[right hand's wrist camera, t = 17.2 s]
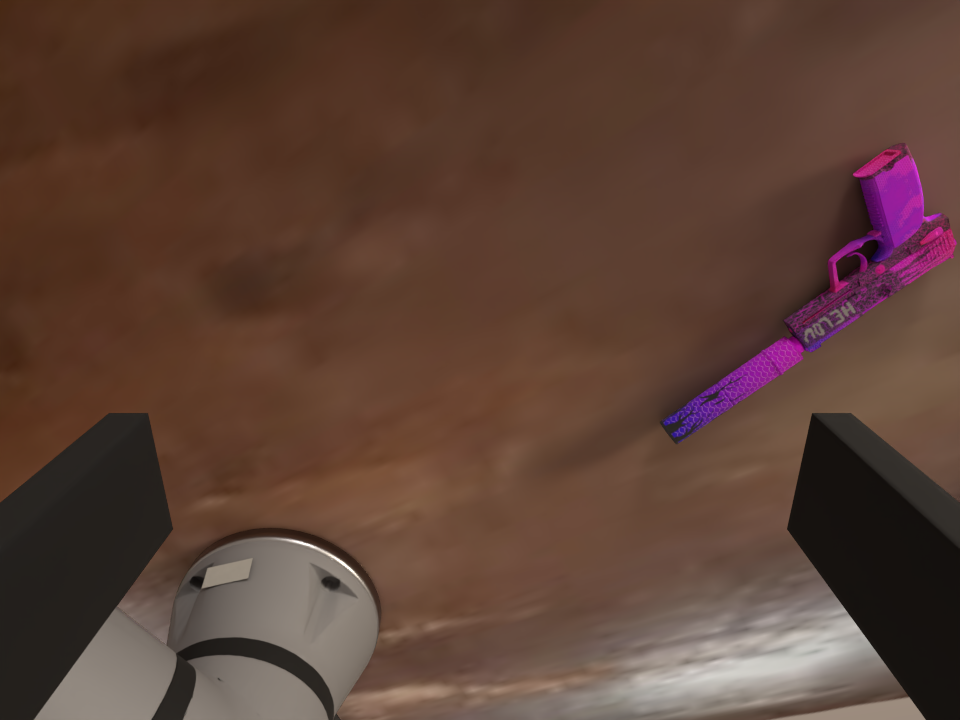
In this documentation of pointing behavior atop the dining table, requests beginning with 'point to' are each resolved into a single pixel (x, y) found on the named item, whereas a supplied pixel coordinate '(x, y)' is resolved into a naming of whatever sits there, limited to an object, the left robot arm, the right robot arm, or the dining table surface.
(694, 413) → the handgun
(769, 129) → the dining table surface
